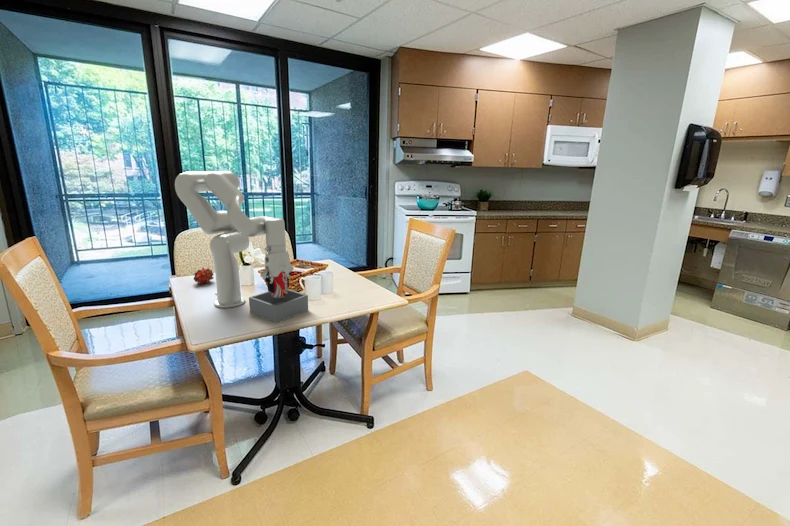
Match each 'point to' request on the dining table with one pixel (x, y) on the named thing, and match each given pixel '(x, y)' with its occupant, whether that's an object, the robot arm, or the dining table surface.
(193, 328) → the dining table surface
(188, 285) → the dining table surface
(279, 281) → the soda can
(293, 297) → the crate
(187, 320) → the dining table surface
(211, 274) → the dragon fruit
